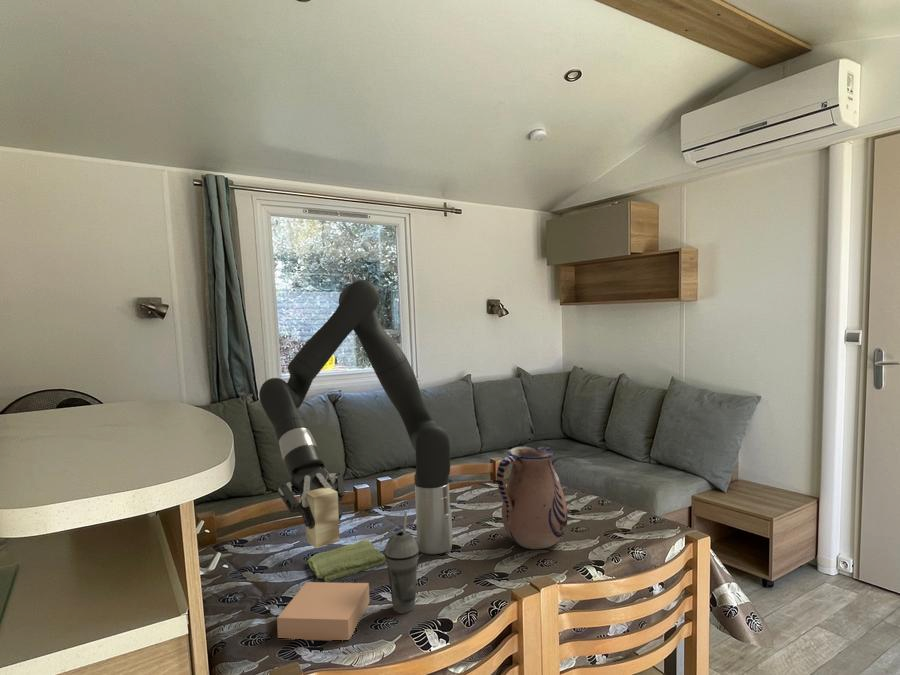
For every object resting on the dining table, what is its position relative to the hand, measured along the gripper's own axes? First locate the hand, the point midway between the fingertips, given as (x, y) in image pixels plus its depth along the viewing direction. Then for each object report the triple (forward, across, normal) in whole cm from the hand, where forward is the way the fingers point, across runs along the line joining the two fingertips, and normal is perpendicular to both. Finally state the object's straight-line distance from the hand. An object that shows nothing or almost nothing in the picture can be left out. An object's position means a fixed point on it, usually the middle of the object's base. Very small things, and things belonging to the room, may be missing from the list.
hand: (325, 522), depth 100 cm
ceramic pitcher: (+16, +57, +13) cm, 60 cm away
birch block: (+2, 0, +4) cm, 5 cm away
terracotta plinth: (+13, 0, +15) cm, 20 cm away
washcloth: (-1, +14, +30) cm, 34 cm away
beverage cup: (+18, +14, +10) cm, 25 cm away
